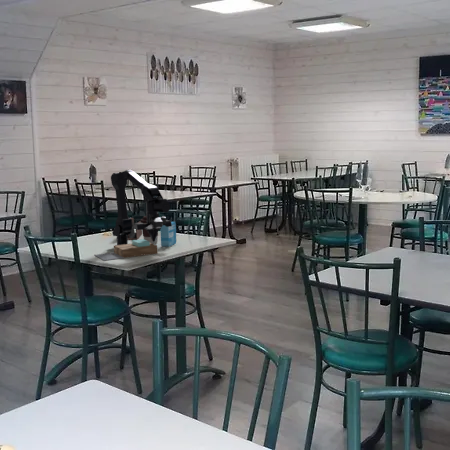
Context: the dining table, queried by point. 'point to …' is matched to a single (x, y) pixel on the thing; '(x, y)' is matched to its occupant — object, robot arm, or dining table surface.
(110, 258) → the mat
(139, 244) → the teal foam pad
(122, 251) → the brown flat block
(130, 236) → the letter holder
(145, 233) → the coffee cup
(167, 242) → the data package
